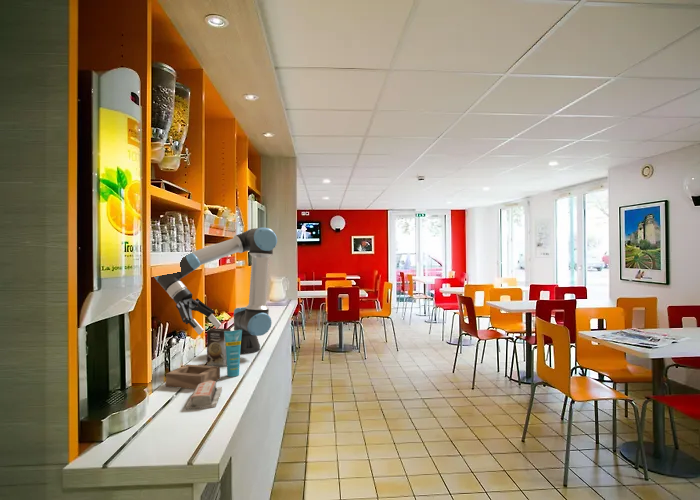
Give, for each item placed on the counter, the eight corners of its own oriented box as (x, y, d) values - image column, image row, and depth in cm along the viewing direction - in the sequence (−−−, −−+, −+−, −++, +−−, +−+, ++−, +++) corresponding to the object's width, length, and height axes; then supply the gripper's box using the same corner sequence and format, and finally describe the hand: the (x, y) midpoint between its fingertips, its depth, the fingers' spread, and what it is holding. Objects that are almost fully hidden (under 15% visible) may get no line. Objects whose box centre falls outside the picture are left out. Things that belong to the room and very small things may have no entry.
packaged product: (216, 394, 141) (185, 396, 139) (216, 408, 141) (185, 411, 139) (222, 378, 158) (194, 380, 157) (222, 390, 158) (195, 392, 157)
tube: (226, 378, 172) (226, 332, 172) (223, 375, 176) (222, 330, 176) (243, 375, 176) (243, 330, 176) (240, 372, 180) (239, 328, 180)
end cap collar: (187, 376, 176) (187, 364, 176) (220, 378, 172) (219, 366, 172) (165, 386, 162) (165, 373, 162) (201, 389, 159) (200, 376, 159)
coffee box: (206, 365, 193) (206, 330, 193) (214, 361, 199) (213, 327, 199) (224, 366, 190) (223, 331, 190) (231, 362, 197) (230, 328, 197)
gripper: (191, 296, 195) (220, 329, 191) (155, 303, 171) (187, 341, 167) (201, 285, 194) (231, 318, 190) (166, 290, 170) (199, 328, 166)
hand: (210, 329), depth 179 cm, fingers open, 13 cm apart
